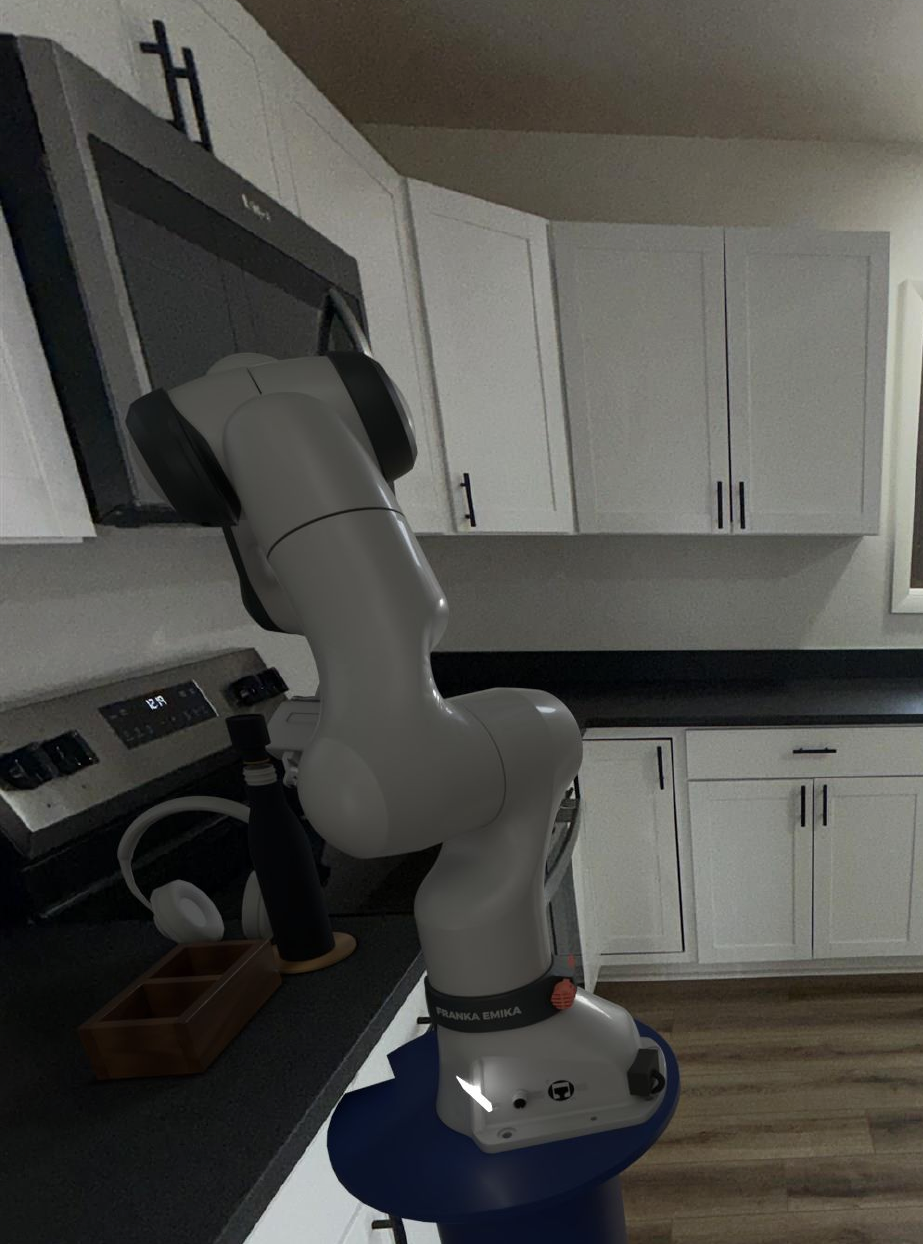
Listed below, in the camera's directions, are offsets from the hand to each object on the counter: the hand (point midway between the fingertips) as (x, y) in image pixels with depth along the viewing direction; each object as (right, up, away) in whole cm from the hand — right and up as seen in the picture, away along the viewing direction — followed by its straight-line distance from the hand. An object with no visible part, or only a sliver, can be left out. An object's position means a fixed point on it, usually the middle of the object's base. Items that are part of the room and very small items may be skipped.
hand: (324, 787), depth 111 cm
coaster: (-1, -21, -1) cm, 22 cm away
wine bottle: (-1, -21, -1) cm, 21 cm away
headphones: (-13, -21, +1) cm, 24 cm away
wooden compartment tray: (-4, -29, -17) cm, 34 cm away
